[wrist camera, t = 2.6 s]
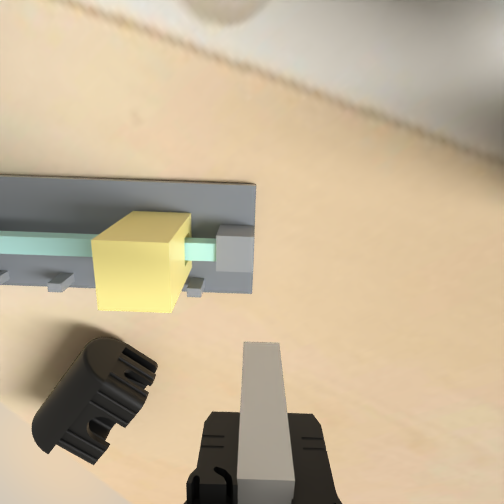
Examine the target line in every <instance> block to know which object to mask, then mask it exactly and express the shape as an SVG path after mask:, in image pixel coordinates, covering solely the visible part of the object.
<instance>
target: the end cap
mask: <svg viewBox="0 0 504 504" xmlns="http://www.w3.org/2000/svg"><path fill="white" fill-rule="evenodd" d="M157 367H158V365H157V363H156V362H155V361H153V360H152V359H150V358H149V357H147V356H145V355H144V354H142V353H141V352H139V351H138V350H136V349H134V348H133V347H131V346H130V345H128V344H126V343H124V342H121V341H119V340H116V339H112V338H98V339H94V340H92V341H91V342H89V343H88V344H87V345H86V346H85V348H84V349H83V350H82V352H81V353H80V354H79V356H78V357H77V359H76V360H75V361H74V363H73V364H72V365H71V367H70V368H69V369H68V371H67V372H66V373H65V375H64V376H63V378H62V379H61V380H60V382H59V383H58V384H57V386H56V387H55V388H54V390H53V391H52V392H51V394H50V395H49V397H48V398H47V399H46V401H45V402H44V403H43V405H42V406H41V407H40V409H39V410H38V411H37V413H36V415H35V416H34V419H33V422H32V435H33V438H34V440H35V442H36V444H37V445H38V446H39V447H40V448H41V449H42V450H43V451H44V452H45V453H47V454H49V453H50V451H51V450H52V449H53V448H54V446H55V445H58V446H60V447H62V448H64V449H65V450H67V451H69V452H71V453H73V454H74V455H76V456H78V457H80V458H82V459H83V460H85V461H87V462H89V463H91V464H92V465H94V464H95V463H96V462H97V461H98V459H99V458H100V457H101V456H102V455H103V453H104V452H105V451H106V450H107V449H108V447H109V445H110V444H109V443H108V442H106V441H105V440H106V438H107V436H108V434H109V432H110V430H111V429H112V427H113V426H114V425H115V424H116V423H118V424H119V425H121V426H123V427H124V428H125V427H126V426H127V425H128V424H129V423H130V421H131V420H132V419H133V418H134V417H135V415H136V414H137V413H138V412H139V411H140V409H141V408H142V407H143V405H144V403H145V401H146V399H147V396H148V394H149V392H147V391H146V390H144V389H145V388H146V386H147V385H149V386H151V385H152V384H153V381H154V379H155V376H156V374H154V373H155V372H156V370H157Z"/></svg>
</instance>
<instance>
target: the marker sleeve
mask: <svg viewBox="0 0 504 504" xmlns="http://www.w3.org/2000/svg"><path fill="white" fill-rule="evenodd" d="M185 237H188V238H192V233H191V213H178V212H150V211H132V212H131V213H129V214H128V215H126V216H125V217H124V218H122V219H121V220H119V221H118V222H116V223H115V224H113V225H112V226H110V227H109V228H108V229H106V230H105V231H103V232H102V233H100V234H99V235H97V236H96V237H94V238H93V239H92V240H91V247H92V257H93V266H94V276H95V285H96V295H97V305H98V310H105V311H133V312H160V313H171V312H172V310H173V308H174V306H175V304H176V301H177V299H178V297H179V295H180V293H181V290H182V288H183V286H184V284H185V282H186V279H187V277H188V275H189V273H190V271H191V268H192V261H188V260H185V244H184V238H185Z"/></svg>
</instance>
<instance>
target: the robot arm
mask: <svg viewBox="0 0 504 504" xmlns="http://www.w3.org/2000/svg"><path fill="white" fill-rule="evenodd" d="M186 487H187V501H186V502H185V503H184V504H342V503H341V501H340V499H339V498H338V496H337V493H336V490H335V486H334V482H333V477H332V473H331V468H330V464H329V459H328V455H327V451H326V446H325V441H324V437H323V432H322V428H321V425H320V423H319V422H318V421H317V419H316V418H315V417H314V415H313V414H299V413H287V407H286V398H285V389H284V380H283V371H282V363H281V354H280V345H279V343H267V342H244V347H243V367H242V387H241V406H240V413H239V412H212V413H211V414H210V415H209V417H208V418H207V420H206V421H205V422H204V428H203V434H202V440H201V447H200V452H199V458H198V463H197V468H196V469H195V470H194V471H193V472H192V473H191V474H190V476H189V478H188V481H187V483H186Z"/></svg>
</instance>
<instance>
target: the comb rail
mask: <svg viewBox="0 0 504 504" xmlns="http://www.w3.org/2000/svg"><path fill="white" fill-rule="evenodd" d="M255 201H256V184H239V183H212V182H184V181H157V180H129V179H102V178H74V177H47V176H19V175H0V285H22V286H47V287H48V292H63V291H64V290H65V289H67V288H68V287H77V288H96V285H95V276H94V266H93V257H92V247H91V240H92V239H93V238H94V237H96V236H97V235H99V234H100V233H102V232H103V231H105V230H106V229H108V228H109V227H110V226H112V225H113V224H115V223H116V222H118V221H119V220H121V219H122V218H124V217H125V216H126V215H128V214H129V213H131V212H132V211H150V212H178V213H191V233H192V238H188V237H185V238H184V244H185V260H188V261H192V268H191V271H190V273H189V275H188V277H187V279H186V282H185V284H184V286H183V288H182V290H181V291H187V297H201V296H202V293H203V292H215V293H243V294H252V280H253V260H254V229H255Z"/></svg>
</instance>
